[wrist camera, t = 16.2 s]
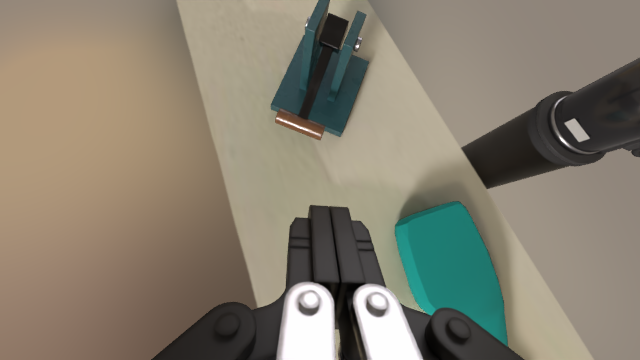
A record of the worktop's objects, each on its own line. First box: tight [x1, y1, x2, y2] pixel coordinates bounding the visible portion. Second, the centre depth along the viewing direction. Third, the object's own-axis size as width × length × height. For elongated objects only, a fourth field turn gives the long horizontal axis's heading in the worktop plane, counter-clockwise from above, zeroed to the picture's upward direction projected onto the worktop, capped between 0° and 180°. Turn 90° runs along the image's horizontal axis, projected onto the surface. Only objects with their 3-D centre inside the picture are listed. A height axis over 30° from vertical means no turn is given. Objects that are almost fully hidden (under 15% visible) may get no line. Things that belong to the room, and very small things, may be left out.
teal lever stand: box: [271, 0, 369, 137], centre depth 33 cm, size 12×10×12 cm
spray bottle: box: [395, 201, 508, 347], centre depth 33 cm, size 3×11×24 cm
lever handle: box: [275, 13, 349, 140], centre depth 30 cm, size 12×6×2 cm, turn 160°
